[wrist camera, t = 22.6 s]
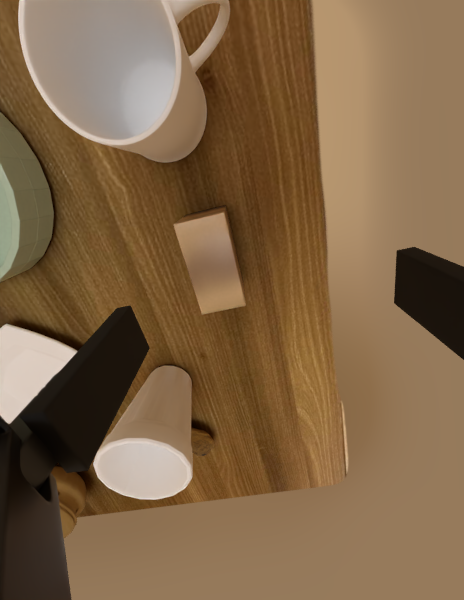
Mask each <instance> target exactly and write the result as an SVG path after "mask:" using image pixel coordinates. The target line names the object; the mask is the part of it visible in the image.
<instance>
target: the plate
mask: <svg viewBox="0 0 464 600" xmlns="http://www.w3.org/2000/svg"><path fill="white" fill-rule="evenodd" d="M77 352H78V351H77V350H75V349H74V348H72V347H70V346H68V345H66V344H64V343H61V342H59V341H57V340H55V339H52V338H49V337H47V336H44V335H42V334H39V333H36V332H33V331H30V330H27V329H24V328H20V327H17V326H13V325H10V324H5V325H4V326H2V327H1V328H0V415H1V417H2V418H3V419H4V420H5V421H6V422H7V423H9V424H10V423H11V422H12V421H13V420H14V419H15V418H16V417H17V416H18V415H19V413H20V412H21V411H22V410H23V409H24V408H25V407H26V406H27V405H28V404H29V402H30V401H31V400H32V399H33V398H34V397H35V396H37V395H38V393H39V392H40V390H41V389H42V388H43V387H45V385H46V384H47V383H48V382H49V381H50V380H51V378H52V377H53V376H54V375H55V374H57V373H58V372H59V371H60V370H61V369H62V368H63V367H64V366H65V365H66V364H67V363H68V362H69V360H70V359H71V358H72V357H73V356H74V355H75V354H76V353H77Z"/></svg>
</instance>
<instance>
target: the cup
mask: <svg viewBox="0 0 464 600" xmlns="http://www.w3.org/2000/svg"><path fill="white" fill-rule="evenodd" d="M191 395H192V381H191V378H190V376H189V375H188V373H187V372H185V371H184V370H183V369H181V368H178V367H175V366H162V367H158V368H156V369H155V370H154V371H153V372H151V374H150V375H149V377H148V378H147V380H146V381H145V383H144V384H143V386H142V387H141V389H140V390H139V392H138V393H137V395H136V396H135V398H134V399H133V401H132V402H131V404H130V405H129V407H128V408H127V410H126V411H125V413H124V414H123V416H122V417H121V419H120V420H119V422H118V423H117V425H116V426H115V428H114V429H113V431H112V432H111V433H110V434H109V435H108V436H107V437H106V439H105V440H104V442H103V444H102V445H101V447H100V448H99V450H98V452H97V454H96V457H95V460H94V463H93V465H94V468H95V471H96V474H97V477H98V478H99V479H100V480H101V481H102V482H103V483H104V484H105V485H106V486H107V487H108V488H110V489H112V490H114V491H116V492H118V493H120V494H122V495H125V496H129V497H133V498H137V499H161V498H166V497H170V496H173V495H175V494H177V493H178V492H180V491H182V490H183V489H185V488H186V487H187V485H188V483H189V482H190V480H191V478H192V469H193V456H192V447H191Z"/></svg>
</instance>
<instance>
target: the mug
mask: <svg viewBox="0 0 464 600" xmlns="http://www.w3.org/2000/svg"><path fill="white" fill-rule="evenodd" d="M210 3H218V4H220V10H219V14H218V17H217V20H216V22H215V24H214V26H213V28H212V30H211V32H210V33H209V35H208V36H207V38H206V39H205V41H204V42H203V43H202V45H201V46H200V47H199V48H198V49H197V50H196V52H194V53H193V54H192V55H191V56H189V57H188V54H187V51H186V48H185V46H184V43H183V40H182V37H181V34H180V32H179V29H178V26H177V25H178V23H179V22H180V21H181V20H182V19H183V18H184V17H185V16H186V15H188V14H189V13H190V12H192V11H193V10H195V9H197V8H199V7H201V6H203V5H206V4H210ZM229 16H230V5H229V0H20V1H19V12H18V22H19V34H20V41H21V46H22V51H23V55H24V58H25V61H26V64H27V67H28V70H29V72H30V75H31V77H32V79H33V81H34V83H35V85H36V87H37V89H38V91H39V92H40V94H41V96H42V97H43V99H44V100H45V102H46V103H47V104H48V106H49V107H50V108H51V109H52V111H53V112H54V113H55V114H56V115H57V116H58V117H59V118H60V119H61V120H62V121H63V122H64V123H65V124H66V125H67V126H69V127H70V128H71V129H73V130H74V131H75V132H77V133H78V134H80V135H82V136H84V137H85V138H88V139H90V140H92V141H95V142H97V143H100V144H104V145H108V146H111V147H115V148H119V149H123V150H126V151H130V152H134V153H137V154H141V155H142V156H144V157H146V158H148V159H150V160H153V161H157V162H165V163H166V162H174V161H178V160H180V159H182V158H184V157H186V156H187V155H189V154H190V153H191V152H192V151H193V150H194V149H195V148H196V146H197V145H198V143H199V142H200V140H201V138H202V136H203V133H204V130H205V126H206V119H207V105H206V98H205V94H204V91H203V88H202V85H201V83H200V81H199V79H198V77H197V75H196V71H197V70H198V68H199V67H200V66H201V65H202V64H203V63H204V62H205V61H206V59H207V58H208V57H209V56H210V54H211V53H212V52H213V50H214V49H215V48H216V46H217V45H218V43H219V41H220V40H221V38H222V36H223V34H224V32H225V30H226V27H227V24H228V21H229Z"/></svg>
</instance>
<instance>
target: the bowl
mask: <svg viewBox="0 0 464 600" xmlns="http://www.w3.org/2000/svg"><path fill="white" fill-rule="evenodd" d="M53 220H54V211H53V205H52V199H51V193H50V189H49V185H48V183H47V181H46V178H45V176H44V173H43V171H42V168H41V166H40V163H39V161H38V159H37V158H36V156H35V155H34V153H33V152H32V150H31V148H30V147H29V145H28V144H27V142H26V141H25V139H24V138H23V136H22V135H21V133H20V132H19V131H18V130H17V129H16V128H15V127H14V126H13V125H12V124H11V122H10V121H9V120H8V119H7V118H6V117H5V116H4V115H3V114H2V113H1V112H0V283H1V282H3V281H5V280H7V279H9V278H12V277H14V276H16V275H18V274H20V273H22V272H24V271H27V270H29V269H30V268H32V267H33V266H34V265H35V264H36V263H37V262H38V261H39V260H40V259H41V258H42V257H43V255H44V253H45V251H46V249H47V247H48V244H49V242H50V240H51V238H52V230H53Z"/></svg>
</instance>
